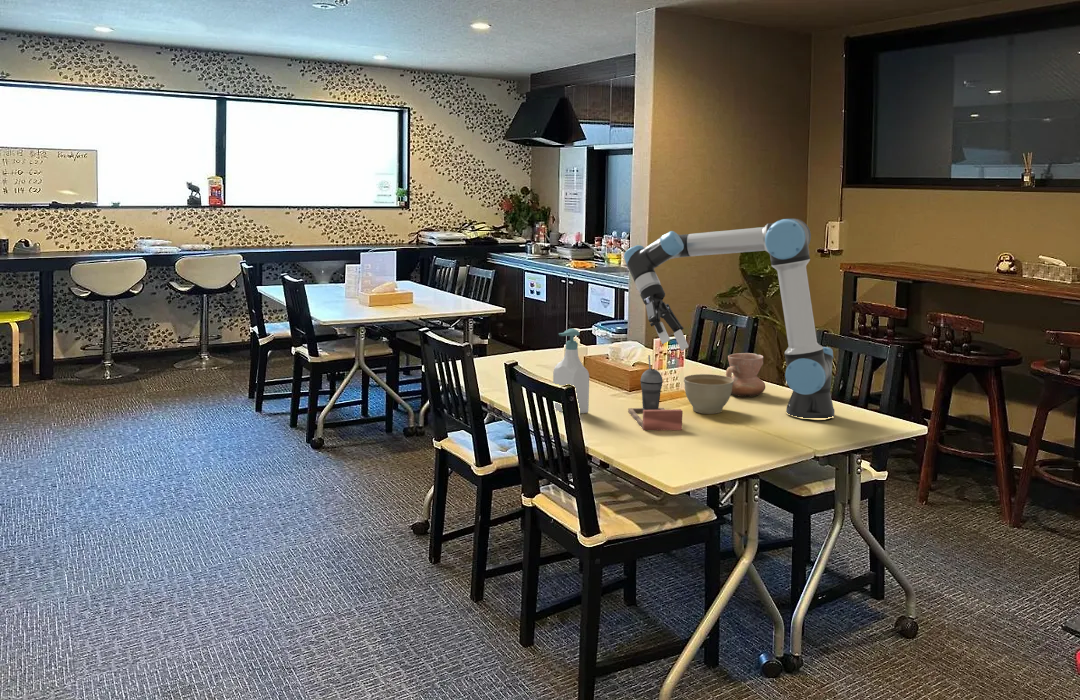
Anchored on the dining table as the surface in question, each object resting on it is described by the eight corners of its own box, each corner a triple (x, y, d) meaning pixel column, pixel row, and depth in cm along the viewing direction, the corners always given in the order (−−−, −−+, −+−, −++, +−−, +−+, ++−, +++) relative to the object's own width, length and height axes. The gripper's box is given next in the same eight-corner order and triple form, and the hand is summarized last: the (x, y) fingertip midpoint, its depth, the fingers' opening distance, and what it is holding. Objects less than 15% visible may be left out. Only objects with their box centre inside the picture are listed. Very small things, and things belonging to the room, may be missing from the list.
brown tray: (628, 411, 300) (628, 394, 299) (663, 411, 301) (664, 393, 300) (643, 430, 277) (644, 411, 276) (681, 430, 278) (682, 410, 277)
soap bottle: (548, 409, 302) (549, 327, 297) (568, 406, 306) (569, 325, 302) (568, 416, 293) (569, 332, 288) (588, 413, 298) (590, 330, 293)
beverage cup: (655, 420, 289) (658, 358, 286) (635, 417, 293) (637, 356, 290) (665, 415, 295) (667, 355, 292) (644, 412, 299) (646, 352, 296)
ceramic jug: (745, 387, 338) (746, 350, 336) (776, 394, 327) (777, 355, 324) (710, 394, 328) (711, 355, 326) (740, 402, 317) (741, 361, 314)
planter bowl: (679, 404, 311) (681, 373, 309) (727, 405, 310) (729, 374, 308) (685, 416, 295) (686, 383, 293) (735, 417, 294) (737, 384, 293)
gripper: (658, 302, 308) (683, 356, 300) (622, 287, 288) (647, 345, 280) (676, 291, 305) (702, 345, 297) (641, 275, 285) (668, 332, 276)
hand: (675, 345), depth 288 cm, fingers open, 13 cm apart
